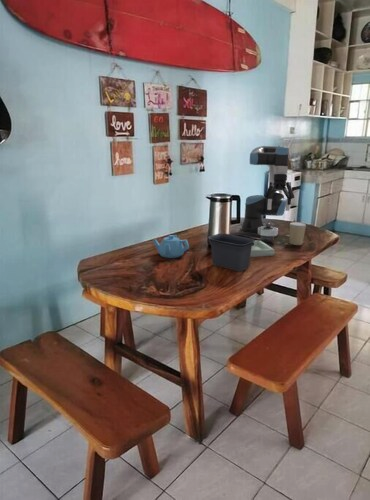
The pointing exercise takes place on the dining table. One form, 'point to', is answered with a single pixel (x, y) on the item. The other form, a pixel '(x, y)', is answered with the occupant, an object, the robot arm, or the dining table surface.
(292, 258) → the dining table surface
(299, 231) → the coffee cup
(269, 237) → the stake stand
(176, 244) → the teapot
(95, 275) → the dining table surface
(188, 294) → the dining table surface
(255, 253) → the tray
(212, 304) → the dining table surface
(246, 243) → the storage bin
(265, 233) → the ring
